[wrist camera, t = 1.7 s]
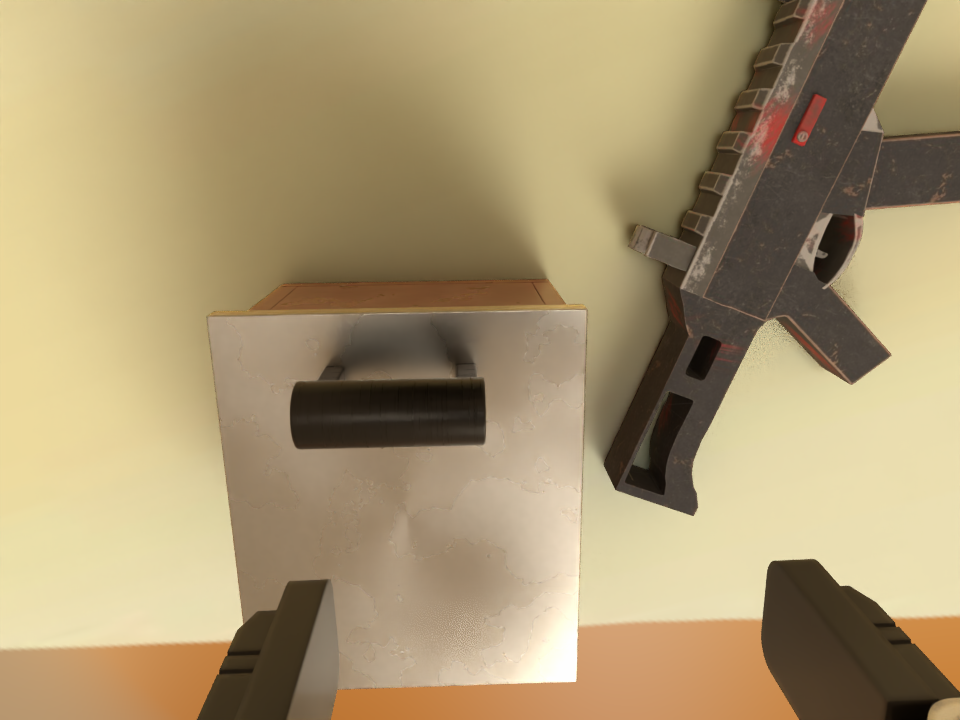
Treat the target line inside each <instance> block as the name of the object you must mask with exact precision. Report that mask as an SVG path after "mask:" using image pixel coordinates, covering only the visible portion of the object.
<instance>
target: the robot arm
mask: <svg viewBox="0 0 960 720" xmlns="http://www.w3.org/2000/svg"><path fill="white" fill-rule="evenodd" d="M761 640H762V648H763V653H764V657H765V660H766V663H767V666H768V668H769V670H770V672H771V673H772V675H773V677H774V678H775V680H776V682H777V683H778V685H779V687H780V688H781V690H782V692H783V693H784V695H785V696H786V698H787V700H788V701H789V703H790V705H791V706H792V708H793V710H794V712H795V713H796V715H797V717H798V718H799V720H960V692H959V691H958V690H957V689H956V688H955V687H954V686H953V684H952V683H951V682H950V681H949V680H948V679H947V678H946V677H945V676H944V675H943V674H942V673H941V672H940V671H939V669H938V668H937V667H936V666H935V665H934V664H933V663H932V662H931V661H930V660H929V659H928V658H927V656H926V655H925V654H924V653H923V652H922V651H921V650H920V649H919V648H918V647H917V646H916V645H915V644H912V643H911V639H910V638H909V637H908V636H907V635H906V634H905V633H904V632H903V631H902V630H901V629H900V627H896V626H895V622H894V621H893V620H892V619H891V618H890V617H889V616H888V615H887V613H886V612H885V611H884V610H883V609H882V608H881V607H880V606H879V605H878V604H877V603H876V602H875V601H873V600H871V599H870V598H868V597H866V596H865V595H863V594H862V593H860V592H858V591H857V590H855V589H853V588H852V587H850V586H839V584H838V583H837V582H836V581H835V580H834V579H833V578H832V576H831V575H830V574H829V573H828V572H827V571H826V570H825V569H824V567H823V566H822V565H821V564H820V563H819V562H818V561H816V560H814V559H805V560H782V561H772V562H771V563H770V565H769V567H768V570H767V579H766V589H765V600H764V610H763V620H762V631H761ZM338 680H339V646H338V635H337V625H336V615H335V605H334V595H333V587H332V583H331V580H330V579H322V580H299V581H289V582H288V583H287V585H286V587H285V590H284V592H283V595H282V597H281V600H280V603H279V605H278V608H277V610H269V611H257V612H256V613H255V614H254V615H253V616H252V617H251V618H250V619H249V620H248V621H247V622H246V623H245V624H243V625H242V626H241V627H240V628H239V629H238V630H237V632H236V634H235V637H234V639H233V641H232V643H231V645H230V648H229V650H228V655H227V656H226V657H225V659H224V661H223V663H222V666H221V668H220V670H219V675H217V676H216V679H215V681H214V683H213V685H212V688H211V690H210V692H209V694H208V696H207V699H206V701H205V703H204V705H203V708H202V710H201V712H200V714H199V717H198V719H197V720H331V715H332V711H333V706H334V702H335V697H336V693H337V688H338Z"/></svg>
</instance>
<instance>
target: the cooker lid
mask: <svg viewBox="0 0 960 720" xmlns="http://www.w3.org/2000/svg"><path fill="white" fill-rule="evenodd" d="M587 311H588V310H587V308H586V307H585V306H584V305H583V304H569V305H516V306H462V307H409V308H355V309H302V310H249V311H214V312H212V313H211V314H209V315H208V316H207V325H208V333H209V342H210V350H211V358H212V367H213V375H214V383H215V392H216V400H217V408H218V417H219V425H220V433H221V441H222V450H223V458H224V466H225V475H226V483H227V491H228V500H229V508H230V516H231V525H232V533H233V541H234V550H235V558H236V566H237V574H238V583H239V591H240V599H241V608H242V616H243V624H245V623H246V622H247V621H248V620H249V619H250V618H251V617H252V616H253V615H254V614H255V613H256V612H257V611H269V610H277V608H278V605H279V603H280V600H281V597H282V595H283V592H284V590H285V587H286V585H287V583H288V582H289V581H299V580H322V579H330V580H331V583H332V587H333V595H334V605H335V615H336V625H337V635H338V646H339V680H338V688H337V690H339V689H369V688H399V687H429V686H430V687H431V686H460V685H489V684H490V685H492V684H520V683H521V684H522V683H553V682H576V680H577V650H578V617H579V583H580V549H581V515H582V481H583V447H584V413H585V379H586V345H587Z"/></svg>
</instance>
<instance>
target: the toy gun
mask: <svg viewBox="0 0 960 720" xmlns="http://www.w3.org/2000/svg"><path fill="white" fill-rule="evenodd" d="M778 1H780V2H783V3H785V4H782V5H781V6H780V8H779V11H778V13H777V15H776V17H775V20H774V22H773V25H774V28H775V30H774V33H773V35H772V37H771V39H770V41H769V44H768V46H767V47H766V48H762V49H761V50H760V52H759V55H758V57H757V59H756V61H755V64H754V66H753V67H754V69H755V74H754V77H753V79H752V81H751V83H750V85H749V88H748V90H746V91H742V92H741V94H740V97H739V99H738V101H737V103H736V106H735V108H734V109H735V111H736V112H737V114H736V116H735V118H734V120H733V123H732V125H731V127H730V129H729V131H724V132H723V134H722V136H721V138H720V141H719V143H718V145H717V147H716V149H717V151H718V152H719V153H718V156H717V158H716V160H715V162H714V164H713V167H712V169H711V171H706V172H705V174H704V176H703V178H702V180H701V182H700V185H699V189H700V190H701V193H700V195H699V197H698V200H697V202H696V204H695V206H694V208H693V210H688V211H687V213H686V216H685V218H684V220H683V222H682V224H681V227H682V228H683V229H684V230H683V232H682V235H681V237H680V239H677V238H674V237H672V236H668V235H665V234H663V233H660V232H658V231H655V230H653V229H650V228H648V227H645V226H643V225H641V226H640V225H637V226H636V229H635V231H634V233H633V236H632V238H631V240H630V242H629V245H628V247H630V248H632V249H634V250H636V251H638V252H641V253H643V254H645V256H647V257H650V258H652V259H655V260H657V261H660V262H663V263H665V264H668V265H667V268H666V270H665V272H664V274H663V276H662V280H663V286H664V289H665V295H666V304H667V310H668V314H669V317H670V320H671V321H670V323H669V325H668V327H667V330H666V332H665V334H664V336H663V338H662V340H661V342H660V345H659V347H658V349H657V351H656V353H655V355H654V357H653V360H652V362H651V364H650V366H649V368H648V370H647V372H646V375H645V377H644V379H643V381H642V383H641V385H640V387H639V390H638V392H637V394H636V396H635V398H634V400H633V402H632V405H631V407H630V409H629V411H628V413H627V415H626V417H625V420H624V422H623V424H622V426H621V428H620V430H619V432H618V435H617V437H616V439H615V441H614V443H613V445H612V447H611V450H610V452H609V454H608V456H607V458H606V460H605V462H604V467H605V469H606V471H607V473H608V475H609V477H610V479H611V482H612V484H613V486H614V488H615V490H617V491H620V492H623V493H626V494H629V495H632V496H635V497H638V498H641V499H644V500H647V501H650V502H653V503H656V504H659V505H662V506H665V507H668V508H671V509H674V510H677V511H680V512H683V513H686V514H689V515H692V516H694V514H695V512H696V510H697V508H698V503H697V493H696V491H695V489H694V487H693V479H692V468H693V461H694V458H695V455H696V453H697V450H698V448H699V445H700V443H701V440H702V439H703V437H704V435H705V433H706V432H707V430H708V428H709V426H710V424H711V422H712V420H713V418H714V416H715V414H716V412H717V410H718V408H719V406H720V404H721V402H722V400H723V398H724V396H725V394H726V392H727V390H728V388H729V386H730V384H731V382H732V380H733V378H734V376H735V374H736V372H737V370H738V368H739V366H740V364H741V362H742V360H743V358H744V356H745V354H746V352H747V350H748V348H749V346H750V344H751V342H752V340H753V338H754V336H755V334H756V333H757V331H758V329H759V328H760V327H761V326H762V325H763V324H764V323H765V322H767V321H768V320H771V319H773V318H776V319H777V320H778V321H779V322H780V323H781V324H782V325H783V326H784V328H785V329H786V330H787V331H788V332H789V333H790V334H791V335H792V336H793V337H794V338H795V339H796V340H797V341H798V342H799V343H800V344H801V346H802V347H803V348H804V349H805V350H806V351H807V352H808V353H809V354H810V355H811V356H812V357H813V358H814V359H815V360H816V361H817V362H818V364H819V365H820V366H821V367H823V368H824V369H826V370H828V371H829V372H831V373H833V374H834V375H836V376H837V377H839V378H841V379H842V380H844V381H846V382H847V383H849V384H851V385H852V384H854V383H855V382H857V381H858V380H859V379H861V378H862V377H863V376H865V375H866V374H867V373H869V372H870V371H871V370H873V369H874V368H876V367H877V366H878V365H880V364H881V363H882V362H884V361H885V360H886V359H888V358H889V357H890V356H891V353H890V352H889V351H888V350H887V349H886V348H885V347H884V345H883V344H882V343H881V342H880V341H879V340H878V339H877V338H876V336H875V335H874V334H873V333H872V332H871V331H870V330H869V329H868V327H867V326H866V325H865V324H864V323H863V322H862V321H861V320H860V318H859V317H858V316H857V315H856V314H855V313H854V312H853V311H852V310H851V308H850V307H849V306H848V305H847V304H846V303H845V302H844V301H843V299H842V298H841V297H840V296H839V295H838V294H837V293H836V292H835V290H834V289H833V288H832V287H831V286H830V285H831V284H832V283H833V282H834V281H836V280H837V279H838V278H839V277H840V276H841V274H842V273H843V272H844V271H845V269H846V268H847V267H848V265H849V263H850V261H851V259H852V257H853V255H854V254H855V252H856V250H857V248H858V246H859V244H860V241H861V237H862V232H863V217H864V213H865V210H870V209H883V208H896V207H908V206H921V205H934V204H947V203H959V202H960V131H954V132H941V133H928V134H915V135H902V136H889V137H883V134H884V131H883V129H882V127H881V124H880V122H879V120H878V117H877V115H876V113H875V110H874V108H873V107H874V105H875V103H876V101H877V99H878V97H879V95H880V93H881V91H882V89H883V87H884V85H885V83H886V81H887V79H888V77H889V75H890V74H891V72H892V70H893V68H894V66H895V64H896V62H897V60H898V58H899V56H900V54H901V52H902V50H903V48H904V46H905V44H906V42H907V40H908V38H909V36H910V34H911V32H912V30H913V28H914V26H915V24H916V22H917V20H918V18H919V16H920V14H921V12H922V10H923V8H924V6H925V4H926V2H927V0H778ZM668 391H669V392H671V393H670V395H669V397H668V399H667V401H666V403H665V405H664V407H663V409H662V411H661V414H660V416H659V418H658V421H657V423H656V425H655V428H654V431H653V434H652V438H651V443H650V466H649V469H648V470H645V469H642V468H640V467H637V466H634V465H632V464H633V461H634V459H635V457H636V455H637V452H638V450H639V448H640V446H641V444H642V442H643V440H644V437H645V435H646V433H647V431H648V429H649V427H650V425H651V423H652V421H653V419H654V416H655V414H656V412H657V410H658V408H659V406H660V404H661V402H662V400H663V398H664V396H665V394H666V392H668Z"/></svg>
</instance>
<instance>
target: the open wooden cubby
mask: <svg viewBox="0 0 960 720" xmlns="http://www.w3.org/2000/svg"><path fill="white" fill-rule="evenodd" d="M516 305H566V303H565V302H564V300H563V299H562V298H561V296H560V295H559V294H558V292H557V291H556V289H555V288H554V287H553V285H552V284H551V283H550V281H549V280H548V279H520V280H464V281H407V282H351V283H295V284H282V285H281V286H280V287H278V288H277V289H275V290H274V291H273V292H271V293H270V294H269V295H268V296H266V297H265V298H264V299H262V300H261V301H260V302H258V303H257V304H256V305H254V306H253V307H252V308H250V309H249V310H302V309H355V308H409V307H462V306H516ZM249 310H248V311H249Z"/></svg>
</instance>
